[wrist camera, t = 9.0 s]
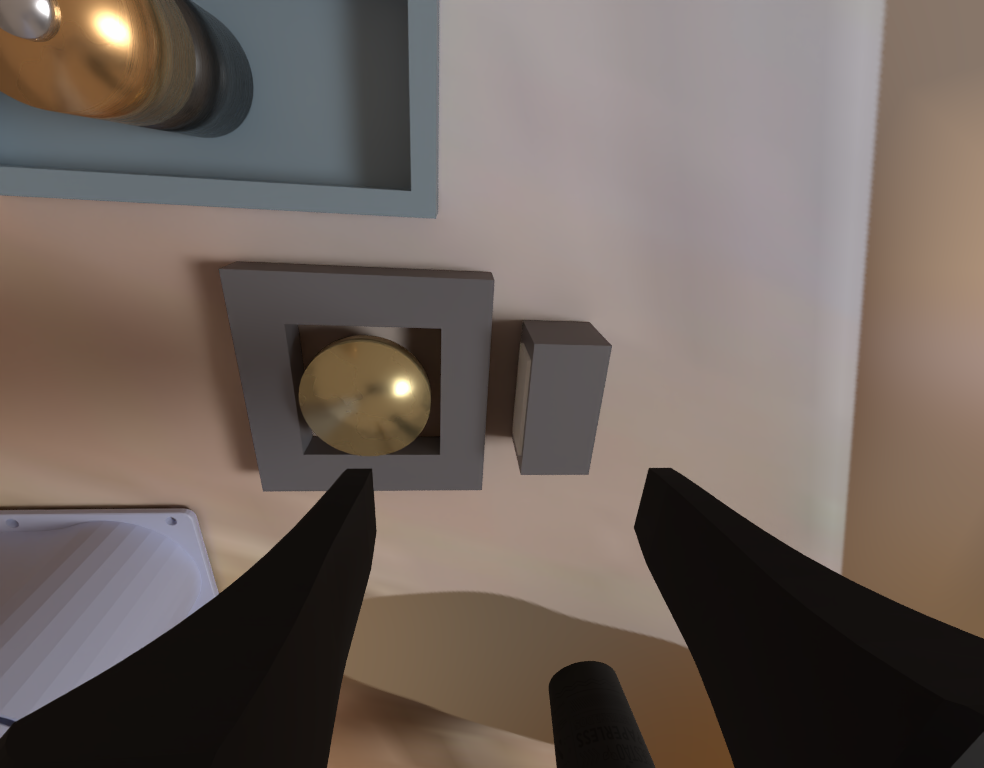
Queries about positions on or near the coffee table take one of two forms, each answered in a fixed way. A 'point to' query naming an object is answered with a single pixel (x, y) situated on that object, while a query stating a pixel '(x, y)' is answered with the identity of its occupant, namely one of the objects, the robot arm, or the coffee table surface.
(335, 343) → the disc
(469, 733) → the coffee table surface
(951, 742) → the robot arm
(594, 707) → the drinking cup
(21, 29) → the battery cell
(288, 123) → the slate trough
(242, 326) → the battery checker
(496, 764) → the coffee table surface
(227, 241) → the coffee table surface
